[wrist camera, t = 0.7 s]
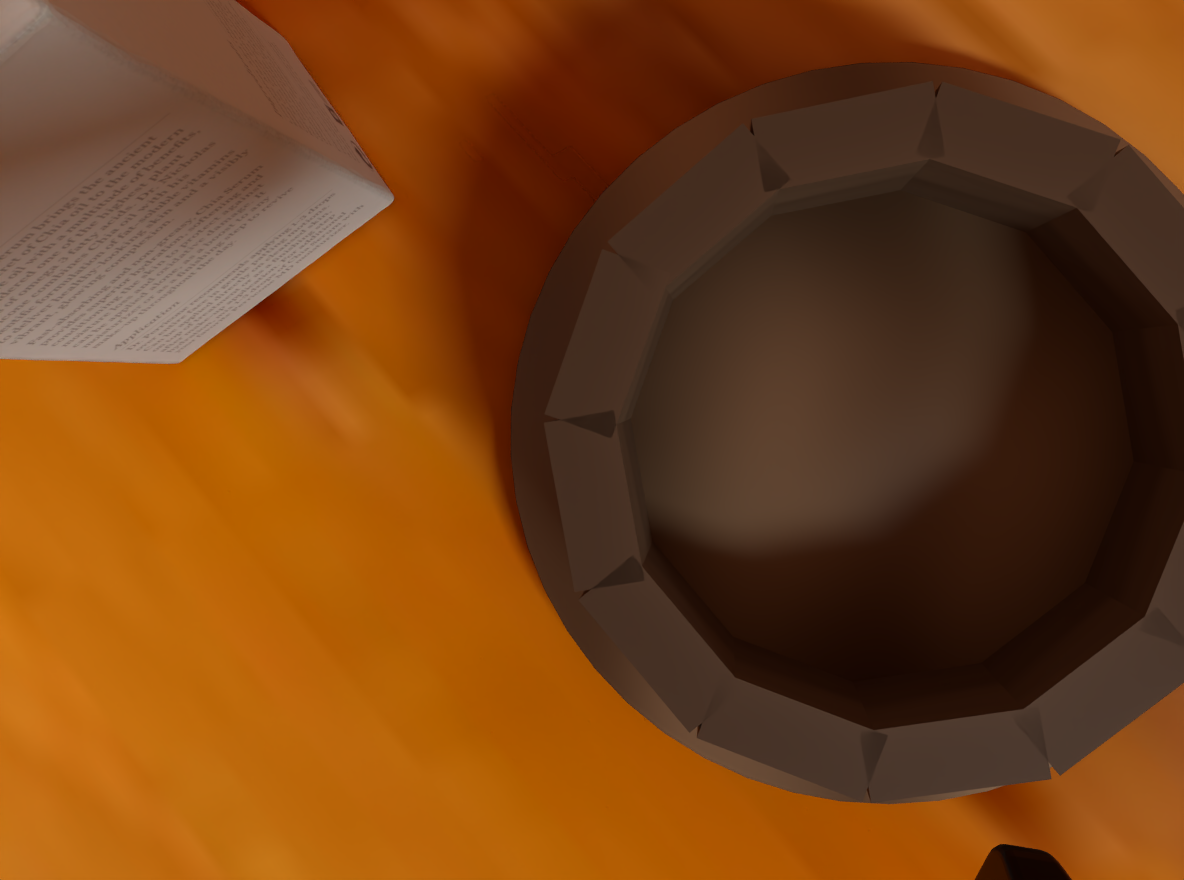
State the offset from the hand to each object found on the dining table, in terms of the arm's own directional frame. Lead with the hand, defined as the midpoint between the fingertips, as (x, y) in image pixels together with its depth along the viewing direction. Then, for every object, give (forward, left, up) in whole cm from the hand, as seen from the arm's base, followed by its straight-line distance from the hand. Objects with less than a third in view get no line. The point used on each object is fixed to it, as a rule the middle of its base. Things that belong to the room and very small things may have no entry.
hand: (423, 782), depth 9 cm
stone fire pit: (+6, +1, -14) cm, 15 cm away
